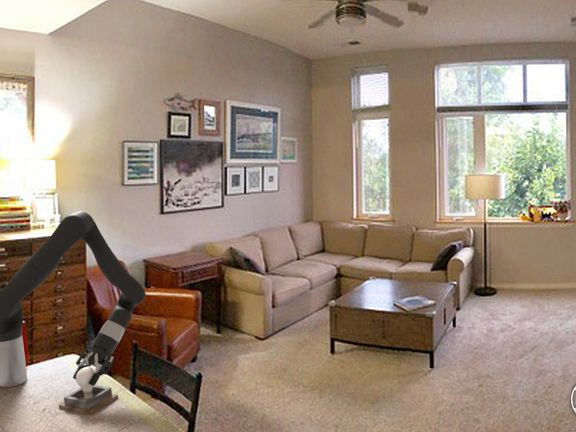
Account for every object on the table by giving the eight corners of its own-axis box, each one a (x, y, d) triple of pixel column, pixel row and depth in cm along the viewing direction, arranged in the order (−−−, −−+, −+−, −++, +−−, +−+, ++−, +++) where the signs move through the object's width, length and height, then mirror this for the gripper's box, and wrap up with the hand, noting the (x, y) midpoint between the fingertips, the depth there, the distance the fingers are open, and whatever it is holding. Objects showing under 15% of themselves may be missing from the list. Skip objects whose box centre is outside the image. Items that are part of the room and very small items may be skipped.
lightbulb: (91, 404, 166) (88, 372, 164) (74, 403, 167) (70, 371, 166) (102, 395, 172) (99, 364, 171) (85, 394, 173) (82, 363, 172)
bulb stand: (59, 407, 167) (57, 397, 167) (86, 391, 178) (85, 381, 177) (91, 414, 161) (90, 404, 161) (118, 397, 172) (117, 387, 172)
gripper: (88, 329, 177) (62, 373, 169) (115, 335, 169) (88, 382, 161) (103, 338, 182) (78, 382, 174) (129, 345, 174) (104, 391, 166)
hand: (83, 382), depth 167 cm, fingers open, 8 cm apart
